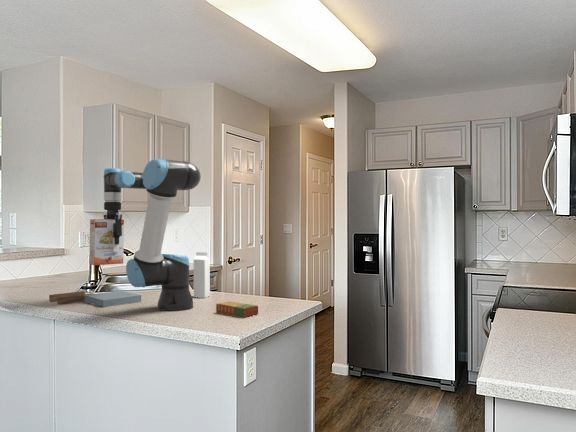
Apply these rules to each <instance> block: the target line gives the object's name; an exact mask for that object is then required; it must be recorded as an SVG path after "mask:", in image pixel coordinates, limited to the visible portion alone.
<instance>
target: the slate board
mask: <svg viewBox="0 0 576 432" xmlns="http://www.w3.org/2000/svg"><path fill="white" fill-rule="evenodd" d="M89 294H90V293H89ZM83 302H85V303H88V304H92V305H95V306H98V307H102V308H107V307H114V306H120V305H127V304H136V303H142V295H141V294H136V293H133V292H128V291H123V290H118V291H117V290H116V291H108V292H101V293H100V292H99V293H93V294H90V295H84V301H83Z"/></svg>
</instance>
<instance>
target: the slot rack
mask: <svg viewBox="0 0 576 432" xmlns="http://www.w3.org/2000/svg"><path fill="white" fill-rule="evenodd" d="M90 294H94V293H93V292H90V293H86V291H84V290H81V291H73V292H65V293H64V292H63V293H56V294H49V295H48V298H49V302H50V303H51V302H56V304H57V305H65V304H73V303H79V302H84V295H90Z"/></svg>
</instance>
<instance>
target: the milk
mask: <svg viewBox="0 0 576 432" xmlns="http://www.w3.org/2000/svg"><path fill="white" fill-rule="evenodd" d="M210 261H211V259H210V257H209V256H208V252H207V251H206V252H201V251H200V252H198V251H197V252H195V256H194V258H193V298H194V297H196V298H195V299H206V298H205V297H207V298H208V296H209V297H210V293H211V292H210V291H211V285H210V284H211V281H210V279H211V275H210V273H211V270H210V269H211V268H210V267H211V264H210V263H211V262H210ZM197 297H198V298H197Z"/></svg>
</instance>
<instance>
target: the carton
mask: <svg viewBox="0 0 576 432" xmlns="http://www.w3.org/2000/svg"><path fill="white" fill-rule="evenodd" d="M215 305H216V306H215V309H216V310H215V312H216V314H219V313H220V314H221V315H225V314H226V316H230V315H231V316H230V317H237V318H241V317H242V319H247V318H250V316H251V317H254V316H253V315H255V316H258V315H259V305H255V304H249V303H243V302H238V301H237V302H236V301H230V300H229V301H223V302H218V303H216V304H215ZM220 314H219V315H220ZM257 314H258V315H257ZM246 317H247V318H246Z"/></svg>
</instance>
